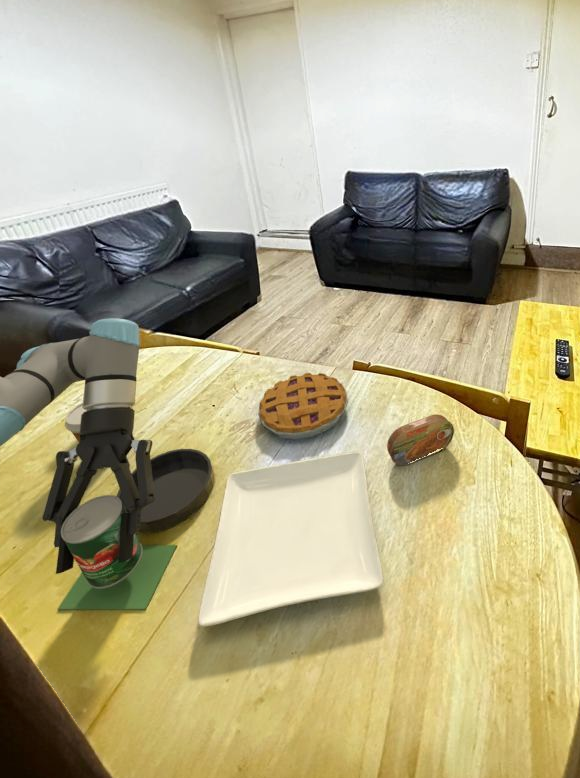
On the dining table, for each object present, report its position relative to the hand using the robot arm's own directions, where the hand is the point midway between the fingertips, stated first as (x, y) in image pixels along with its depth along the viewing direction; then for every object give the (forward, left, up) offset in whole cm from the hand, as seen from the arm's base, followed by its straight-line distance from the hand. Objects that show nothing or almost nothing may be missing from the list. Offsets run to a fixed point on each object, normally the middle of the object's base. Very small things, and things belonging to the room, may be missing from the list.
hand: (95, 565), depth 62 cm
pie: (+22, +42, -8) cm, 49 cm away
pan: (-1, +19, -8) cm, 21 cm away
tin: (+50, +28, -8) cm, 58 cm away
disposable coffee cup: (-21, +30, -8) cm, 38 cm away
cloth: (-1, +3, -8) cm, 9 cm away
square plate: (+27, +10, -8) cm, 30 cm away
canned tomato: (-1, +3, -5) cm, 6 cm away
